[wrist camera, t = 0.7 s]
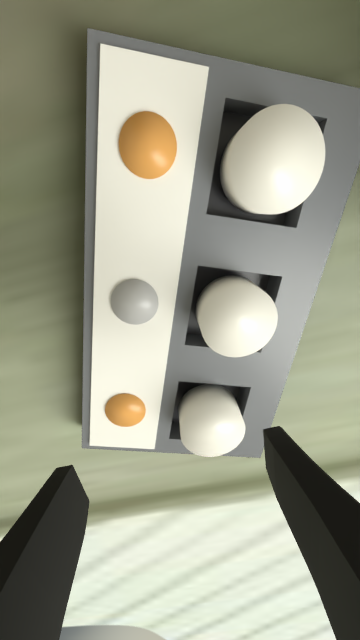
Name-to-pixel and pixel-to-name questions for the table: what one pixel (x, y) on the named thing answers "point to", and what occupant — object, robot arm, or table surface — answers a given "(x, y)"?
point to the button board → (191, 235)
